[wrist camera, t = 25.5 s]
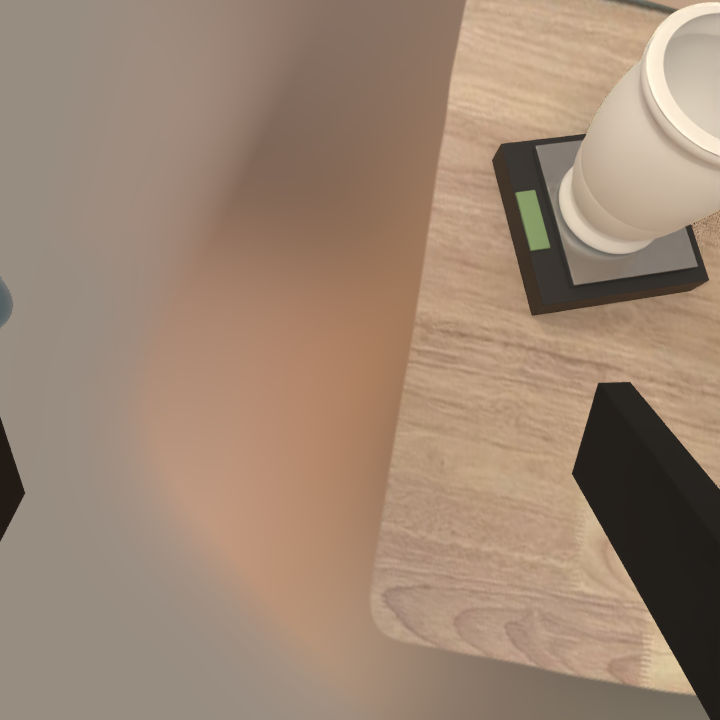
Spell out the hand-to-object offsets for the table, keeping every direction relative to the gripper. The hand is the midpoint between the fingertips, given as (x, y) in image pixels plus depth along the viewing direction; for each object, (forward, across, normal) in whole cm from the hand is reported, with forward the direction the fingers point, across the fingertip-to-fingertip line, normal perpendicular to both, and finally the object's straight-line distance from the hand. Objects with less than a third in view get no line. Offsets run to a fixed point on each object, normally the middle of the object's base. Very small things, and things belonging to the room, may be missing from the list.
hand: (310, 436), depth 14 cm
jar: (+35, +24, -6) cm, 43 cm away
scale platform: (+36, +25, -6) cm, 44 cm away
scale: (+37, +24, -8) cm, 45 cm away
